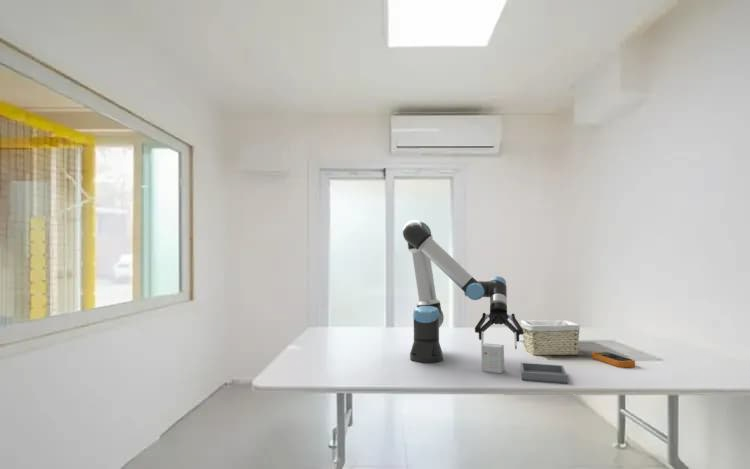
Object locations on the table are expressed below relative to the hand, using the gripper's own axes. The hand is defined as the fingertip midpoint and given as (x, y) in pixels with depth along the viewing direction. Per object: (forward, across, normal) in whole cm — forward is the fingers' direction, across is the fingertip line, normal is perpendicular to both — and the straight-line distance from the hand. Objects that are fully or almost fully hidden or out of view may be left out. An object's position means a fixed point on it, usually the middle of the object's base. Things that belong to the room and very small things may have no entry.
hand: (498, 346), depth 182 cm
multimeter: (-9, -48, -24) cm, 55 cm away
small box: (+10, +2, -3) cm, 11 cm away
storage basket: (-19, -23, -34) cm, 46 cm away
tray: (+12, -16, 0) cm, 21 cm away
